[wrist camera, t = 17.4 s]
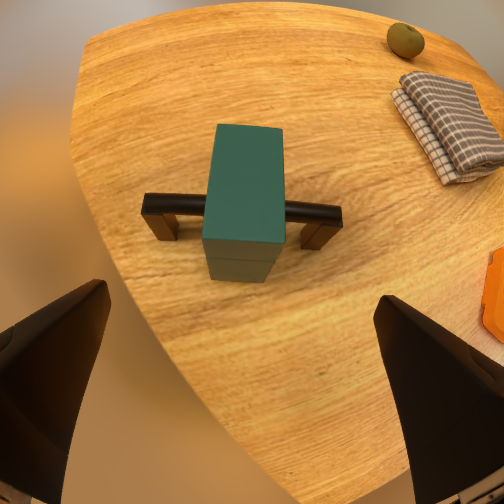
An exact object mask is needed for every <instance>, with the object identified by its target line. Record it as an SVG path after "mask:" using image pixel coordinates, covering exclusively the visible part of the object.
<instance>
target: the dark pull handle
mask: <svg viewBox="0 0 504 504" xmlns="http://www.w3.org/2000/svg"><path fill="white" fill-rule="evenodd" d="M206 196H207V195H202V194H177V193H145V195H144V200H143V204H142V209H141V215H142V217H143V218H144V220H145V221H146V223H147V224H148V225H149V227H150V228H151V230H152V231H153V233H154V234H155V236H156V237H157V238H158V240H166V241H176V240H177V234H178V226H179V223H178V221H177V218H176V216H175V215H191V216H204V212H205V204H206ZM285 222H296V223H307V224H306V226H305V227H304V228H303V230H302V231H301V248H302V249H311V250H320V249H321V248H322V247H323V246H324V245H325V244H326V243H327V242H328V241H329V240H330V239H331V238H332V237H333V236H334V235H335V234H336V233H337V232H338V231H339V230H340V229H342V228H343V222H342V210H341V207H340V206H335V205H327V204H318V203H309V202H299V201H288V200H285Z"/></svg>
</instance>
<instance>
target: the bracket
mask: <svg viewBox="0 0 504 504" xmlns="http://www.w3.org/2000/svg"><path fill="white" fill-rule="evenodd" d="M481 305H482V306H483V307H484V308H485V309H484V314H483V324H484V326H485V327H486V328H487V329H488V330H489V331H490V332H491V333H492V334H493V335H494V336H495V337H496V338H497V339H499V340H500V341H501V342H502V343H503V344H504V247H502V248H500V249H497V250H495V251H494V254H493V263H492V264H491V265H488V270H487V276H486V282H485V288H484V293H483V298H482V303H481Z"/></svg>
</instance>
